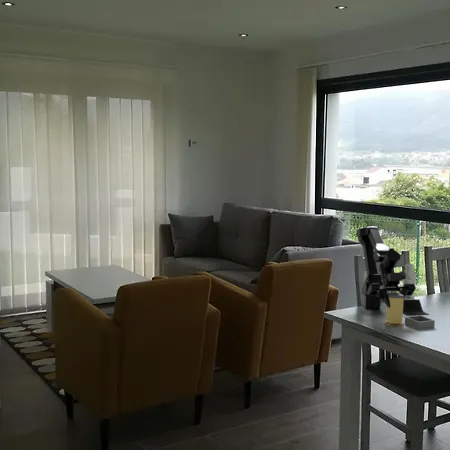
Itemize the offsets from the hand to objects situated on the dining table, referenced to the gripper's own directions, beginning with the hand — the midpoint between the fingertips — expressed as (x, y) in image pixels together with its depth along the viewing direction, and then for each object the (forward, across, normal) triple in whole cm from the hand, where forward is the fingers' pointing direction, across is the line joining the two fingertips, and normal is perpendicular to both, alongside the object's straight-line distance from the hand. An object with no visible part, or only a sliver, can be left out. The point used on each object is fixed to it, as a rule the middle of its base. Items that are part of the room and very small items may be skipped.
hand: (395, 307), depth 244 cm
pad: (+5, 0, +7) cm, 8 cm away
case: (+3, +9, +8) cm, 12 cm away
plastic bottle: (-15, +17, +27) cm, 36 cm away
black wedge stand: (-8, +15, +20) cm, 26 cm away
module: (+4, 0, +6) cm, 7 cm away
